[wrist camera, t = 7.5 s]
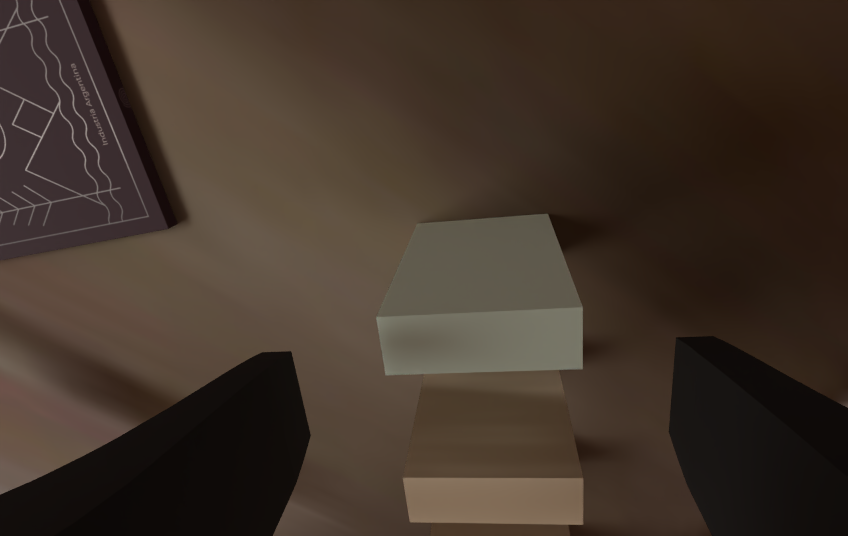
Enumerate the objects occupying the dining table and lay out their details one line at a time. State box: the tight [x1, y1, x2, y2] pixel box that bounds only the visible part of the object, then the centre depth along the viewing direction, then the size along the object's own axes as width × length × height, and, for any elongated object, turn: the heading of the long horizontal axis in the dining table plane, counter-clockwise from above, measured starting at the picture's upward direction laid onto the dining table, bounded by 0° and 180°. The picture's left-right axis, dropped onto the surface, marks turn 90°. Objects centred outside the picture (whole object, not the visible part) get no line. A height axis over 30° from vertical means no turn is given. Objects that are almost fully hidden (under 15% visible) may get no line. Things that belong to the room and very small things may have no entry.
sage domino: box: [376, 214, 583, 375], centre depth 15 cm, size 2×4×7 cm, turn 96°
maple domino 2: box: [430, 523, 570, 536], centre depth 18 cm, size 2×4×7 cm, turn 96°
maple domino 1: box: [403, 370, 583, 525], centre depth 16 cm, size 2×4×7 cm, turn 96°
